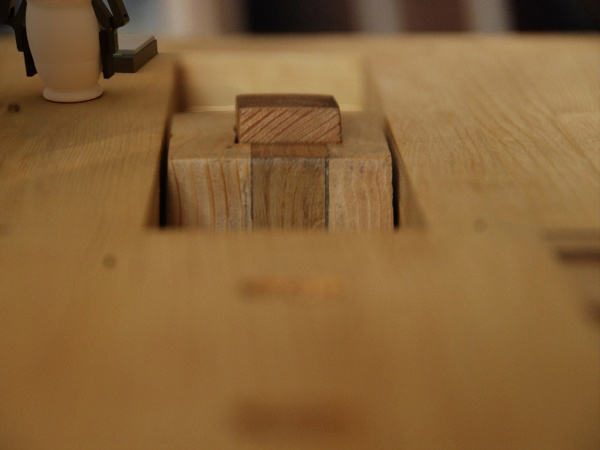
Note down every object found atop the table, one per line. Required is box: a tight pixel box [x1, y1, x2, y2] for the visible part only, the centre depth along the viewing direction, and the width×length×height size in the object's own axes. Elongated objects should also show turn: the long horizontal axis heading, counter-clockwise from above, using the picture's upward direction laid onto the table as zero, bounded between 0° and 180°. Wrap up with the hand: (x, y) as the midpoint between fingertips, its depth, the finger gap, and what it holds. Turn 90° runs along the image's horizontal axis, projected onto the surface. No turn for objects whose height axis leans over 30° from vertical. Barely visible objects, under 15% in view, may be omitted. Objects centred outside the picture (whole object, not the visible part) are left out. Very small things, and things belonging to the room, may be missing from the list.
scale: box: [102, 33, 159, 74], centre depth 136 cm, size 10×14×3 cm
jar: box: [26, 0, 104, 103], centre depth 114 cm, size 11×10×15 cm
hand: (71, 75), depth 116 cm, fingers closed on jar, 10 cm apart
